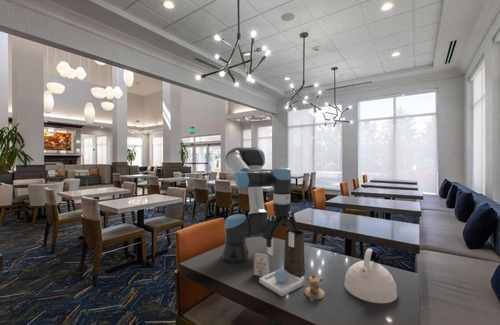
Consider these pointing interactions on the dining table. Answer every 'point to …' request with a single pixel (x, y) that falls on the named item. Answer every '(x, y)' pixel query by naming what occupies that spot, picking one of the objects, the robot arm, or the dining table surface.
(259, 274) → the white cardboard box
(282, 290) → the tray
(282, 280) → the ball
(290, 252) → the beer stein
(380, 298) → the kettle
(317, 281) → the stand
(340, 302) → the dining table surface
